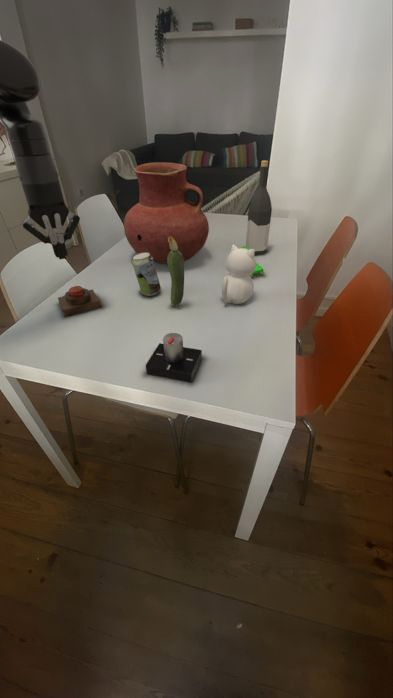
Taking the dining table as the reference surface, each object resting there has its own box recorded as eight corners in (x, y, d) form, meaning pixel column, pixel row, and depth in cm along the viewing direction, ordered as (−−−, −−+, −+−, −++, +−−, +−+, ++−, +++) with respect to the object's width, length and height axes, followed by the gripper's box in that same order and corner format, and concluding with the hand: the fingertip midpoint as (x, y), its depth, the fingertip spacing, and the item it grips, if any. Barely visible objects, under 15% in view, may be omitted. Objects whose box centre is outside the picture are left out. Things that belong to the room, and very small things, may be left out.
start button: (72, 298, 87) (70, 293, 86) (69, 293, 89) (67, 287, 88) (85, 295, 88) (83, 289, 87) (82, 290, 91) (80, 284, 90)
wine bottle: (271, 252, 120) (282, 161, 101) (254, 257, 117) (263, 163, 98) (257, 246, 125) (266, 158, 107) (241, 250, 122) (247, 160, 104)
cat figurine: (259, 295, 94) (265, 245, 84) (237, 313, 86) (241, 260, 77) (233, 287, 98) (236, 239, 89) (210, 304, 90) (210, 252, 81)
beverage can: (160, 297, 94) (156, 258, 86) (135, 298, 94) (129, 259, 87) (162, 288, 99) (158, 250, 91) (138, 288, 99) (133, 250, 92)
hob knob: (168, 350, 70) (167, 330, 67) (186, 353, 69) (185, 333, 66) (162, 361, 67) (159, 341, 64) (180, 364, 66) (178, 344, 63)
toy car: (228, 267, 110) (229, 249, 105) (244, 263, 112) (246, 245, 108) (247, 280, 102) (249, 260, 98) (264, 275, 104) (267, 256, 100)
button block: (65, 317, 86) (61, 304, 84) (59, 304, 92) (55, 291, 89) (101, 307, 90) (98, 294, 88) (94, 295, 96) (91, 283, 93)
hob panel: (146, 374, 67) (145, 365, 66) (160, 351, 74) (159, 342, 72) (191, 383, 65) (191, 373, 64) (202, 358, 71) (201, 349, 70)
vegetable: (182, 301, 92) (178, 231, 80) (188, 308, 89) (186, 236, 76) (168, 305, 90) (162, 234, 78) (174, 312, 87) (169, 239, 75)
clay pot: (118, 272, 108) (99, 173, 90) (141, 242, 131) (130, 158, 113) (203, 276, 105) (203, 173, 86) (212, 244, 128) (213, 158, 109)
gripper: (68, 173, 73) (85, 248, 83) (4, 179, 68) (31, 258, 78) (75, 178, 67) (92, 257, 78) (6, 185, 62) (35, 269, 73)
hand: (62, 258), depth 78 cm, fingers closed
